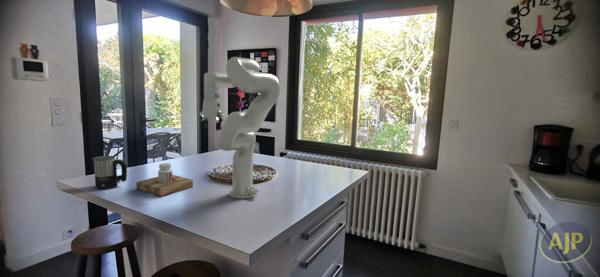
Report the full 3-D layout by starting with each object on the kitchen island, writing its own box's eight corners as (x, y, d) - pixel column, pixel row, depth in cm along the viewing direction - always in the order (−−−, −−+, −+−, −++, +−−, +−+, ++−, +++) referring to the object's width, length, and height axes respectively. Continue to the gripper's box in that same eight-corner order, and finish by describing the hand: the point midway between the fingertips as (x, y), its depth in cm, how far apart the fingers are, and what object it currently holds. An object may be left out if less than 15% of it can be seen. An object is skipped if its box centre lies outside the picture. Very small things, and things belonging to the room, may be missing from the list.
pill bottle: (169, 184, 148) (168, 162, 147) (174, 186, 144) (174, 164, 142) (156, 186, 144) (155, 163, 142) (161, 189, 140) (161, 166, 138)
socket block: (192, 187, 148) (192, 179, 147) (161, 197, 132) (160, 188, 131) (169, 181, 156) (168, 173, 156) (136, 189, 140) (136, 181, 140)
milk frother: (94, 191, 137) (92, 160, 134) (94, 182, 149) (92, 153, 147) (129, 186, 145) (128, 157, 143) (126, 178, 157) (125, 151, 155)
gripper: (229, 97, 153) (228, 130, 156) (205, 96, 161) (205, 127, 164) (218, 97, 147) (218, 131, 149) (194, 96, 155) (194, 128, 157)
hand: (211, 129), depth 156 cm, fingers open, 9 cm apart
